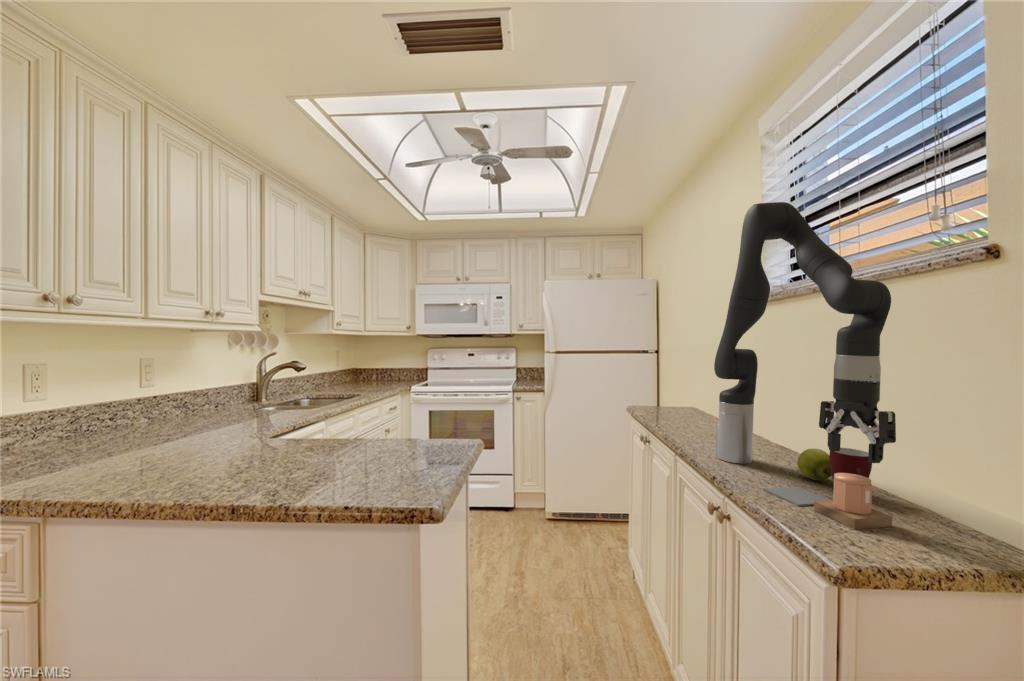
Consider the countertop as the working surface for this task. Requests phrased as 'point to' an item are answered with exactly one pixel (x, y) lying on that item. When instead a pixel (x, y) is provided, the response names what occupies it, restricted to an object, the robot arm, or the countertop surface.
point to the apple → (815, 464)
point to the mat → (796, 495)
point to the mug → (850, 462)
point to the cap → (852, 493)
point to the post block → (853, 516)
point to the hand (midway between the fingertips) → (853, 456)
